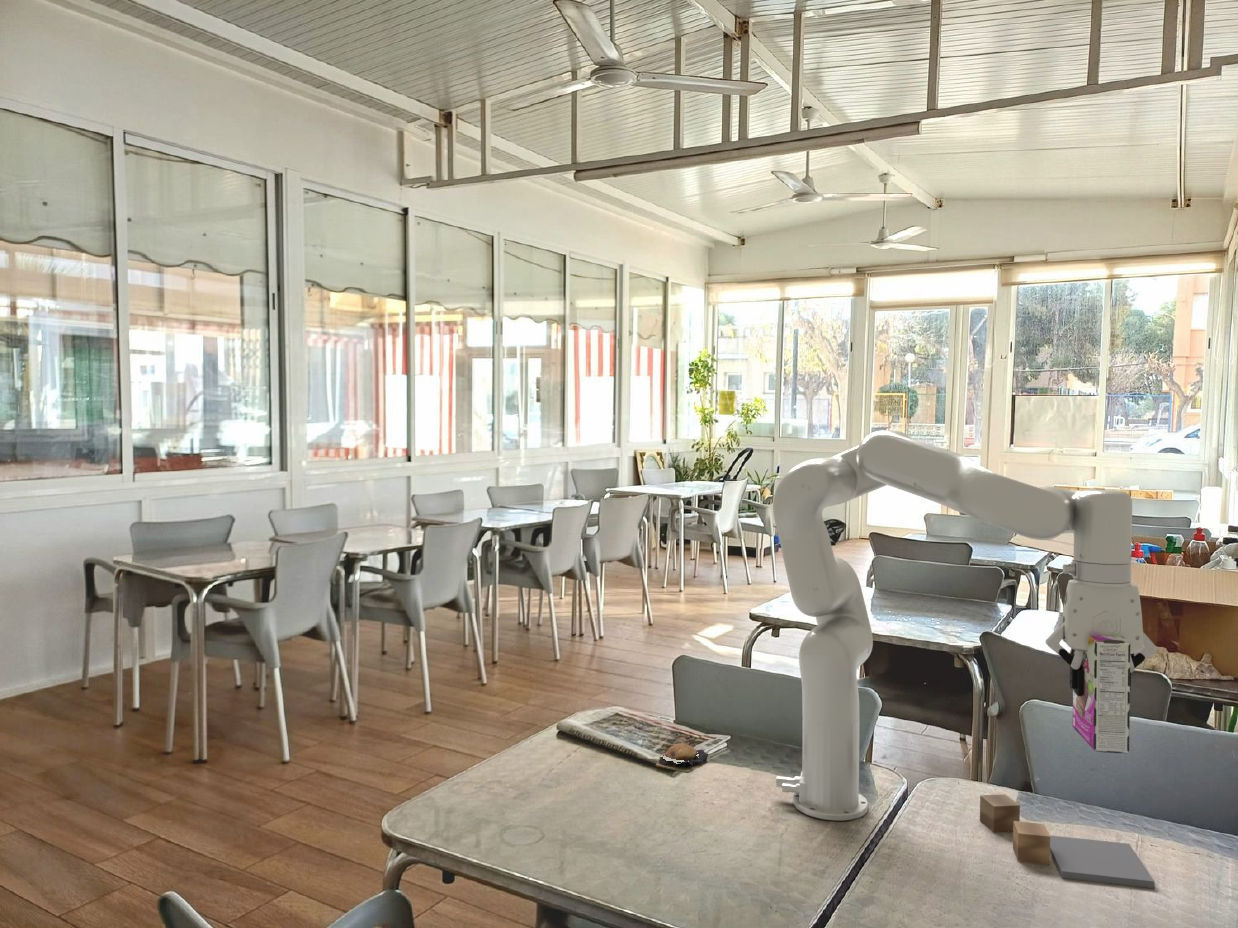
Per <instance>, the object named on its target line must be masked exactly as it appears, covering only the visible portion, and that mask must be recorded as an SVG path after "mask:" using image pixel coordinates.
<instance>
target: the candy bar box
mask: <svg viewBox="0 0 1238 928" xmlns="http://www.w3.org/2000/svg"><path fill="white" fill-rule="evenodd" d="M1130 644H1131V642H1130V641H1128V640H1127V639H1125V638H1124V637H1115V636H1089V644H1088V651H1087V652H1085V654H1084V657H1083V659H1082V662H1081V668H1082V669H1083V671H1084V690H1083V696H1077V695H1076V693H1075V692H1074V691H1073V690H1072V722H1071V723H1072V724H1071V725H1072V726H1071V727H1072V728H1073V729H1074V730H1075V731H1076V732H1077V733H1078V734H1079V735H1080V737H1081V738H1082V739H1083V740H1084V741H1085V742H1086V743H1087V744H1088V746H1089V747H1091V749H1092V750H1093V751H1094V752H1096V753H1103V754H1106V753H1110V754H1127V755H1129V754H1130V726H1131V725H1130V722H1131V721H1130V720H1131V719H1130V717H1131V716H1130V714H1131V713H1130V711H1131V707H1130V706H1131V691H1130V655H1131V654H1130Z"/></svg>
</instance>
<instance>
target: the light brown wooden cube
mask: <svg viewBox="0 0 1238 928" xmlns="http://www.w3.org/2000/svg"><path fill="white" fill-rule="evenodd" d="M1050 835H1051V834H1049V831H1048V828H1047V827H1046V824H1045V823H1038V822H1037V823H1036V822H1028V821H1013V832H1012V849H1013V853H1014V855H1015V857H1016V861H1017V862H1019V863H1029V864H1035V865H1036V864H1038V865H1046V866H1051V864H1050V863H1051V861H1050V860H1051V854H1050Z"/></svg>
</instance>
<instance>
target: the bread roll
mask: <svg viewBox="0 0 1238 928" xmlns="http://www.w3.org/2000/svg"><path fill="white" fill-rule="evenodd" d="M697 752H698V753H697ZM664 754H665V756H666V757H669V758H671V759H676V760H684V761H685V762H682V763H681V762H677V763H681V764H676V763H674V762H673V761H666V760H665V759H663V757H660V756H659V760H658V762H657V763H656V764H655V766H656V767H658V768H663V769H667V770H668V769H669V770H672V771H677V772H682V773H686V774H688V773H690V772H692V771H694V770H696V769H698V768H699V767H700V766H702V765H703V764H705V763H706V762H707V761H708V760H709V759H710V755H709V753H706V752H705V750H704V749H696V748H694V747H693V746H691V745H689V744H686V743H676V744H673V745H672V746H670V747H669V748H668V750H667V751H666V752H665V753H664ZM664 754H662V755H663V756H664ZM697 754H699V756H698V757H699V758H698V757H697V756H696V755H697ZM688 760H689V762H688Z"/></svg>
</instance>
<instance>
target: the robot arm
mask: <svg viewBox="0 0 1238 928" xmlns="http://www.w3.org/2000/svg"><path fill="white" fill-rule="evenodd" d="M886 486H890V487H892V488H896V489H898V490H901V491H904V492H907V493H909V494H912V495H914V496H918V497H921V498H923V499H926V500H929V501H931V502H933V503H934V502H935V503H937V504H939V505H942V506H945V507H947V508H949V509H951V510H952V511H956V512H959V513H961V514H964V515H967V516H969V517H971V518H974V519H976V520H978V521H980V522H983V523H986V524H988V525H991V526H994V527H996V528H999V529H1003V530H1005V531H1008V532H1010V533H1013V534H1016V535H1019V536H1021V537H1025V538H1028V539H1031V540H1036V541H1049V540H1052V539H1055V538H1058V537H1059V536H1061V535H1062V534H1073V559H1071V560H1072V561H1071V562H1070V563H1068V564H1065V563H1064V564H1062V572H1063V574H1068V575H1070V576H1071V577H1072V579H1068V583H1067V585H1066V591H1065V596H1064V602H1063V607H1062V608H1063V609H1062V617H1061V624H1060V625H1059V626H1058V627H1057V628H1056V629H1055V630H1054V631H1053V632H1052V633H1051V634H1050V636H1048V637H1047V639H1046V640H1045V644H1046V646H1048V647H1049V648H1050V649H1051V650H1052V651H1053V652H1055V653H1056V654H1057V655H1058V656H1060V657H1061V659H1062V660H1064V662H1066V664H1067V665H1068V666H1069V687H1070V689H1071V690H1072V692H1073V691H1074V692H1075V693H1076V695H1077V696H1083V690H1084V671H1083V669H1082V668H1081V662H1082V659H1083V657H1084V654H1085V652H1087V651H1088V644H1089V636H1115V637H1124V638H1125V639H1127V640H1128V641H1130V642H1131V644H1130V692H1131V691H1132V690H1131V689H1132V673H1133V672H1134V671H1135V669H1136V668H1138V666H1140V665H1141V664H1142V663H1143V662H1144V661H1145V660H1146V659H1149V658H1150V657H1151V656H1152V655H1154V654H1156V653H1157V652H1158V647H1157V646H1156V645H1155V643H1154V642H1153V640H1152V639H1150V638H1149V637H1148V636H1147V634H1146V633H1145V632H1144V628H1143V614H1142V604H1141V598H1140V592H1139V587H1138V585H1137V584H1135V583H1132V547H1133V546H1132V543H1133V541H1132V536H1133V535H1132V532H1133V499H1132V497H1131V495H1130V494H1129V493H1127V492H1125V491H1123V490H1118V489H1116V490H1115V489H1085V490H1077V489H1069V488H1063V487H1057V486H1049V485H1048V486H1047V485H1046V486H1039V487H1038V486H1034V485H1032V484H1028V483H1025V482H1022V481H1018V480H1015V479H1012V478H1010V477H1007V476H1003V475H1001V474H1000V473H999V474H998V473H997V472H994V471H991V470H989V469H987V468H985V467H982V466H981V465H979V464H978V463H977V462H976V461H974V460H973V459H971V458H970V457H968V456H965V455H963V454H961V453H958V452H955V451H952V450H948V449H945V448H941V447H940V446H935V445H932V444H929V443H926V442H923V441H920V440H917V439H914V438H912V437H911V436H910V435H908V434H906V433H905V432H902V431H899V430H889V429H888V430H886V429H885V430H884V429H883V430H876V431H873V432H870V433H869V434H867V435H866V436H865V437H864V438H862V440H861V442H860V443H859V445H857V446H854V447H853V448H850V449H848V450H845V451H843V452H840V453H838V454H836V455H834V456H831V457H818V458H817V457H816V458H811V459H807V460H804V461H802V462H800V463H798V464H796V465H795V466H794V467H793V468H791V469H790V470H789V471H788V472H786V474H785V475H784V476H783V478H782V479H781V480H780V481H779V483H778V485H777V487H776V489H775V492H774V494H773V495H774V496H773V503H772V511H773V512H772V513H773V518H774V520H773V521H774V523H775V528H776V530H777V531H776V532H777V535H778V539H779V544H780V548H781V554H782V558H783V559H782V560H783V563H784V568H785V572H786V576H787V580H788V585H789V589H790V593H791V599H792V600H793V603H794V605H795V606H796V609H798V611H800V612H801V614H803V615H806V616H808V617H813V618H815V619H816V623H817V624H816V626H815V627H814V628H812V629H811V630H810V631H809V632H808V633H807V634H806V635H805V637H804V638H803V640H802V642H801V645H800V647H799V653H798V663H799V665H798V666H799V673H800V681H801V691H802V692H801V693H802V694H801V696H802V698H801V699H802V701H801V703H802V704H801V705H802V708H801V709H802V738H801V739H802V742H801V743H802V748H801V749H802V751H801V753H802V755H801V760H802V762H801V763H802V764H801V765H802V767H801V768H802V769H801V770H802V771H800V775H795V776H794V777H789V776H785V775H776V778H775V779H776V780H775V781H776V783H775V786H776V788H779V789H780V788H781V791H782V793H794V794H793V795H792V805H793V806H794V807H795V809H797V810H798V811H799V812H801V813H803V814H804V815H807V816H810V817H812V818H816V819H820V820H826V821H837V822H838V821H851V820H855V819H856V820H857V819H858V818H862V817H863V816H865V814H867V812H868V811H869V802H868V799H866V797H864V795H862V794H861V793H859V792H860V697H859V695H860V694H859V687H858V680H857V679H858V678H857V677H858V676H857V670H858V668H860V667H861V666H862V665H863V664H864V663H866V661H867V660H868V659H869V657H870V656H871V653H872V651H873V646H874V639H873V633H872V628H871V627H872V626H871V623H870V622H871V621H870V618H869V614H868V610H867V607H866V606H867V605H866V603H865V598H864V594H863V590H862V586H861V582H860V580H859V577H858V574H857V573H856V572H855V570H854V568H853V567H852V565H851V564H850V563H849V562H847V561H846V560H845V559H843V558H841V557H838V556H835V555H834V550H833V548H832V543H831V538H830V534H829V531H828V528H827V525H826V524H825V522H824V519H823V510H824V509H826V508H827V507H832V506H836V505H841V504H844V503H847V502H849V501H851V500H854V499H857V498H859V497H861V496H864V495H867V494H869V493H871V492H873V491H876V490H878V489H881V488H883V487H886ZM1061 641H1062V642H1064V643H1065V644H1066V645H1067V647H1069V648H1070V650H1069V651H1067V650H1066V648H1064V647H1063V646H1062V645H1061V644H1060V642H1061Z"/></svg>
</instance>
